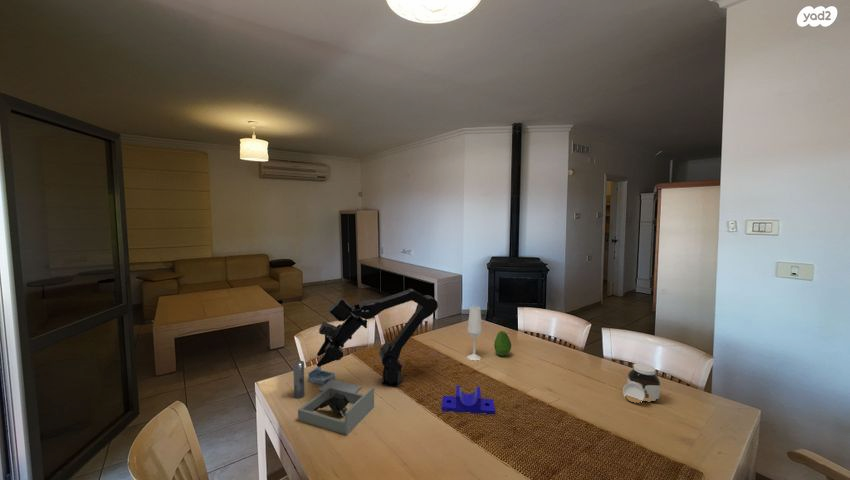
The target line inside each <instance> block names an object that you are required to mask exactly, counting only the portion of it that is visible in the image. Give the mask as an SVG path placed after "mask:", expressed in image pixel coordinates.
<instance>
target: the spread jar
mask: <svg viewBox="0 0 850 480" xmlns="http://www.w3.org/2000/svg"><path fill="white" fill-rule="evenodd" d="M656 370H657V369H656V368H655V367H654V366H652V365H650V364H646V363H641V362H640V363H639V362H637V363H634V364H633V368H632V369H631V370H630V371H629V372H628V374H627V382H626V384H625V385H624V386H623V388H622V394H623V396H624V397H625V396H626V395H628V396H631V397H634V398H637V399H639V400H642V401H644V399H645V398H651V399H658V398H659V399H660V395H661V381H660V378H659V377H658V375H657V374H656ZM659 399H658V400H659ZM642 401H641V403H643V402H642Z"/></svg>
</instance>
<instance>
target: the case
mask: <svg viewBox="0 0 850 480" xmlns="http://www.w3.org/2000/svg"><path fill="white" fill-rule="evenodd" d="M335 393H338V394H341V395H345V397H346V398H347V400H348V401H349V403H351V404H352V405H351V406H350V407H349V408H347V411H345V412H344V415H345V417H344V420H343V419H339V418H336V417H331V416H328V415H325V414H321V413H318V412H315V411H314V409H315V408H317V407H318V406H319V405H320V404H321V403H322V402H324V401H325V400H326V399H328V398H329V397H330V396H332V395H334V394H335ZM374 407H375V387H373V386H372V387H370V388H369V389H368V390H367V391H366V392H364V393H359V392H356V393H355V392H351V391H347V390H343V389H339V388H335V387H331V386H329V387H328V388H326V389H325V390H324V391H323V392H322V391H320V393H318V394H317V395H316V396H315V397H312V399H310V400H309V401H308V402H307V403H305V404H304V405H302V406H301V407H300V408H299V409H297V421H298V422H303V423H306V424H310V425H312V426H315V427H319V428H322V429H326V430H329V431H332V432H336V433H338V434H339V433H340V434H342V435H345V436H348V435H349V434H350V433H351V432H352V431H353V430H354V429H355V428H356V427H357V425H359V423H360V422H361V421H362V420H363V419H364V418H365V417H366V416H367V415H368V414H369V413H370V412H371V411H372V410H373V409H374Z"/></svg>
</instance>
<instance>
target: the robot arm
mask: <svg viewBox="0 0 850 480" xmlns="http://www.w3.org/2000/svg"><path fill="white" fill-rule="evenodd" d="M411 301H413V302H414V303H416V304H417V305H416V308H415V311H414V313H413V314H412V316H410V318H408V321H407V322H406V323H405V324H404V326H403V327H402V328H401V330H400V331H399V333H398V334H397V335H396V336H395V338H394V339H393V340H392V341H390V342H388V341H385V342H384V343H383V345H382V346H381V347H380V348H379V349H380V351H379V353H378V354H379V359H380V362H381V363H382V366H384V367H383V370H382V380H383V381H382V382H381V385H383V386H384V385H385V386H390V387H393V388H397V387H398V386H399V385H400V384H401V383H402V382H403V380H404V379H403V377H402V368H403V365H402V363H401V361H400V355H401V352H402V350H403V348H404V346H405V345H406V344H407V343H408V341H409V340H410V339H411V337H412V336H413V334H414V333H415V332H416V330H417V329H418V328H419V326H420V325H421V324H422V323H423V322H424V320H425V319H427V318H430V317H431V316H432V315H433V314H434V313H435V312H436V311H437V309H438V307H439V305H438V301H437V300H436V299H435V298H433V297H432V296H431V295H429V294H426V295H425V294H422V293H420V292H418V291H416V290H415V289H413V288H408V289H407V290H404V291H401V292H397V293H395V294H391V295H388V296H385V297H382V298H379V299H366V300H363V301H360V302H359V303H357V304H352V305H349V303H347V301H346V300H344V298H340V299H338V300H337V301H335V302H334V303H333V304H331V306H330V307H329V309H328V313H329V314H330V315H331V316H333V317H334V318H335V319H336V320H337V321H338V322H343V323H340V324H337V326H336V325H334V324H332V323H331V324H330V323H329V322H325V321H323V322H322V323H321V325H320V327H319V329H318V333H319V334H320V335H324V342H323V343H322V345H321V347H320V348H319V350H318V351H317V354H316V356H317V357H320V356H322V357H321V358H320V359H319V360H318V362H317V363H316V366H317V367H320V366H321V367H322V366H325V365H327V364H329V363H332V362H335V361H341V359H343V357H344V351H343V350H344V349H343V348H344V347H345V344H346V343H347V342H348V341H349V340H352V339H353V335H354V334H355V333H356V332H357V331H358V330H359V329H360V328H361V327H363V328H364V329H367V328H368V320H370V319H372V318H375V317H376V316H378V315H379V314H380V313H382V312H383V311H384V310H388V309H391V308H393V307H394V308H395V307H396V306H399V305H403V304H404V303H408V302H411Z"/></svg>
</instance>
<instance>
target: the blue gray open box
mask: <svg viewBox="0 0 850 480" xmlns="http://www.w3.org/2000/svg"><path fill="white" fill-rule="evenodd" d="M335 374H336V373H335V372H330V371H327V370H322V366H320V367H318V366H317V367H316V368H314V369H313V370H311V371H310V372H308V375H307V376H308V377H307V378H308V380H307V381H309V383H313V384H317V385H321V386H323V385H325V384H326V383H327V382H329V381H330V380H331V379H332V380H334V379H335V378H336V375H335Z"/></svg>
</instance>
